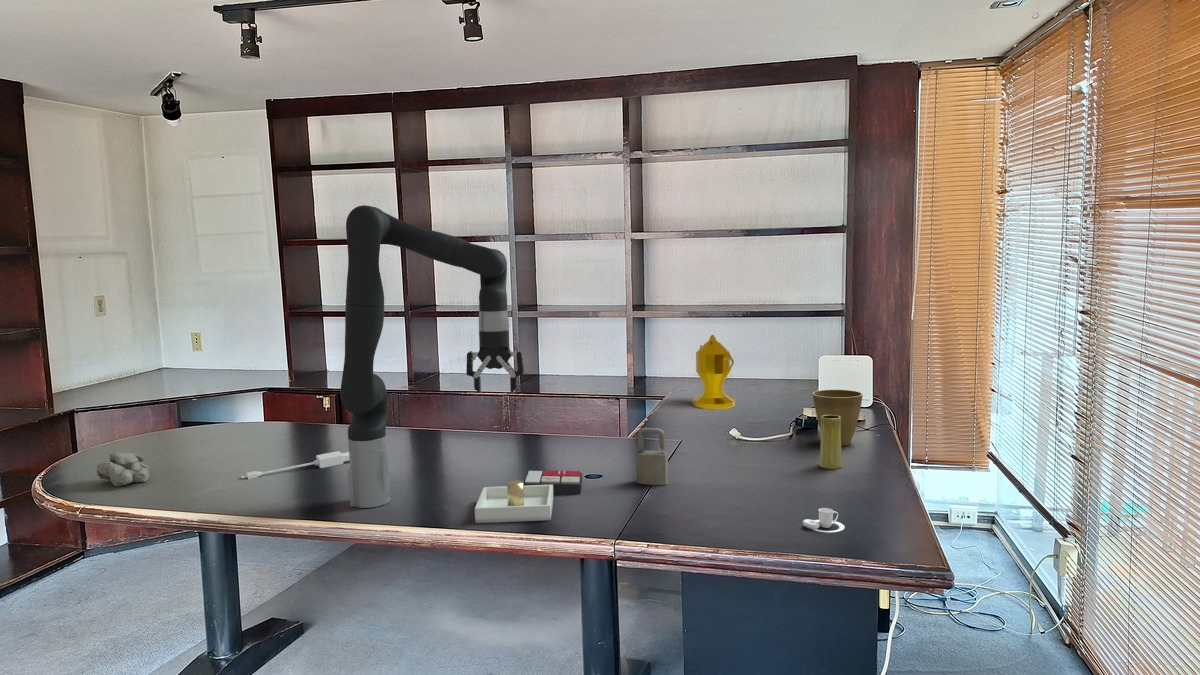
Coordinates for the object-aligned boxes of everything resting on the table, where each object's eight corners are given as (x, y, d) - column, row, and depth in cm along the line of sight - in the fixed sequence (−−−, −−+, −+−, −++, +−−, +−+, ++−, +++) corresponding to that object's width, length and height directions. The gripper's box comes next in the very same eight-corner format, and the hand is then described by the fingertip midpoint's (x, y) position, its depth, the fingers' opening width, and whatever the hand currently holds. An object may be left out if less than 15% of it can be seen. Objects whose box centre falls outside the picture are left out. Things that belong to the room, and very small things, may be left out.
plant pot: (872, 443, 241) (872, 393, 239) (841, 451, 233) (841, 399, 231) (833, 435, 253) (833, 386, 252) (802, 442, 245) (802, 392, 243)
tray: (475, 523, 182) (474, 508, 181) (484, 500, 198) (483, 487, 198) (550, 520, 182) (550, 505, 181) (553, 497, 198) (552, 484, 198)
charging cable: (241, 480, 227) (239, 469, 227) (353, 458, 244) (352, 448, 243) (243, 485, 223) (241, 473, 223) (357, 461, 239) (356, 451, 239)
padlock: (665, 486, 205) (663, 430, 204) (635, 483, 208) (634, 429, 206) (669, 481, 209) (667, 427, 207) (640, 479, 212) (638, 425, 210)
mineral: (119, 486, 214) (133, 450, 217) (78, 477, 221) (93, 443, 224) (156, 495, 224) (170, 461, 228) (116, 486, 231) (130, 454, 234)
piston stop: (506, 509, 188) (506, 485, 187) (508, 503, 192) (508, 480, 191) (522, 509, 188) (522, 485, 187) (524, 503, 192) (524, 480, 191)
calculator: (580, 481, 200) (522, 480, 200) (580, 497, 201) (522, 496, 201) (582, 469, 211) (527, 468, 211) (582, 485, 212) (527, 484, 212)
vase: (846, 465, 218) (846, 415, 217) (835, 470, 214) (836, 419, 212) (825, 462, 222) (825, 413, 221) (815, 467, 218) (815, 417, 216)
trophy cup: (716, 397, 324) (715, 330, 321) (750, 407, 302) (750, 335, 299) (680, 401, 317) (678, 333, 314) (712, 412, 295) (711, 339, 291)
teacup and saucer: (801, 532, 170) (801, 514, 170) (805, 519, 178) (805, 502, 177) (843, 536, 167) (843, 518, 167) (845, 523, 174) (846, 506, 174)
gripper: (463, 330, 192) (465, 395, 194) (520, 329, 192) (522, 394, 194) (468, 327, 199) (470, 389, 201) (523, 326, 199) (525, 389, 201)
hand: (495, 391), depth 197 cm, fingers open, 8 cm apart
